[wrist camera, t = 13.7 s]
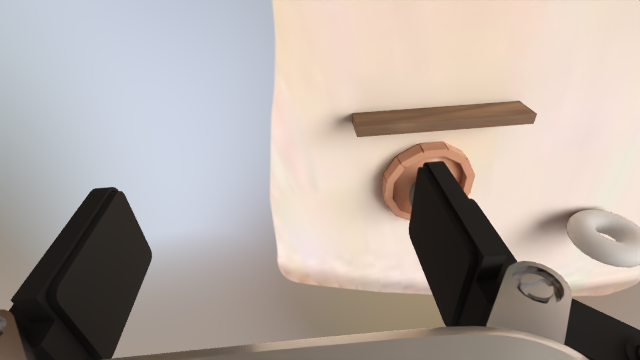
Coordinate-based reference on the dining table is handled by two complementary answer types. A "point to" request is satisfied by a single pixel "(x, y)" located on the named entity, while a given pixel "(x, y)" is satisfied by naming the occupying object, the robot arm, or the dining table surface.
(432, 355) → the robot arm
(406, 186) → the bowl
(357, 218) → the dining table surface
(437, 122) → the wall
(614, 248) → the donut
